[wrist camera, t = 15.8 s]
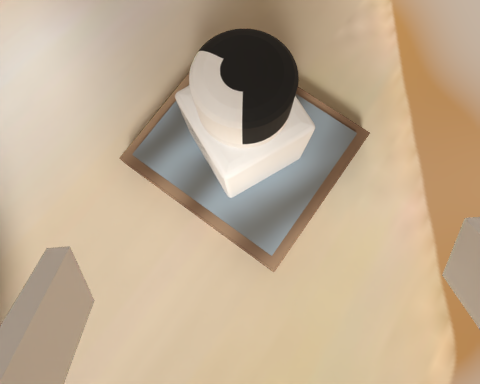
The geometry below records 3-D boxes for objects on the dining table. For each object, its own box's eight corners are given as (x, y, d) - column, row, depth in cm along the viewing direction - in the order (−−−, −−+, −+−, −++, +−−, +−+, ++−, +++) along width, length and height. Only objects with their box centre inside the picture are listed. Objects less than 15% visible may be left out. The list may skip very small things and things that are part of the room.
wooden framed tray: (127, 165, 36) (117, 156, 33) (220, 50, 38) (218, 32, 35) (272, 271, 33) (274, 272, 30) (361, 141, 36) (371, 130, 33)
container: (258, 92, 34) (266, -11, 21) (301, 158, 32) (337, 91, 20) (188, 131, 33) (152, 49, 20) (229, 200, 32) (218, 158, 19)
